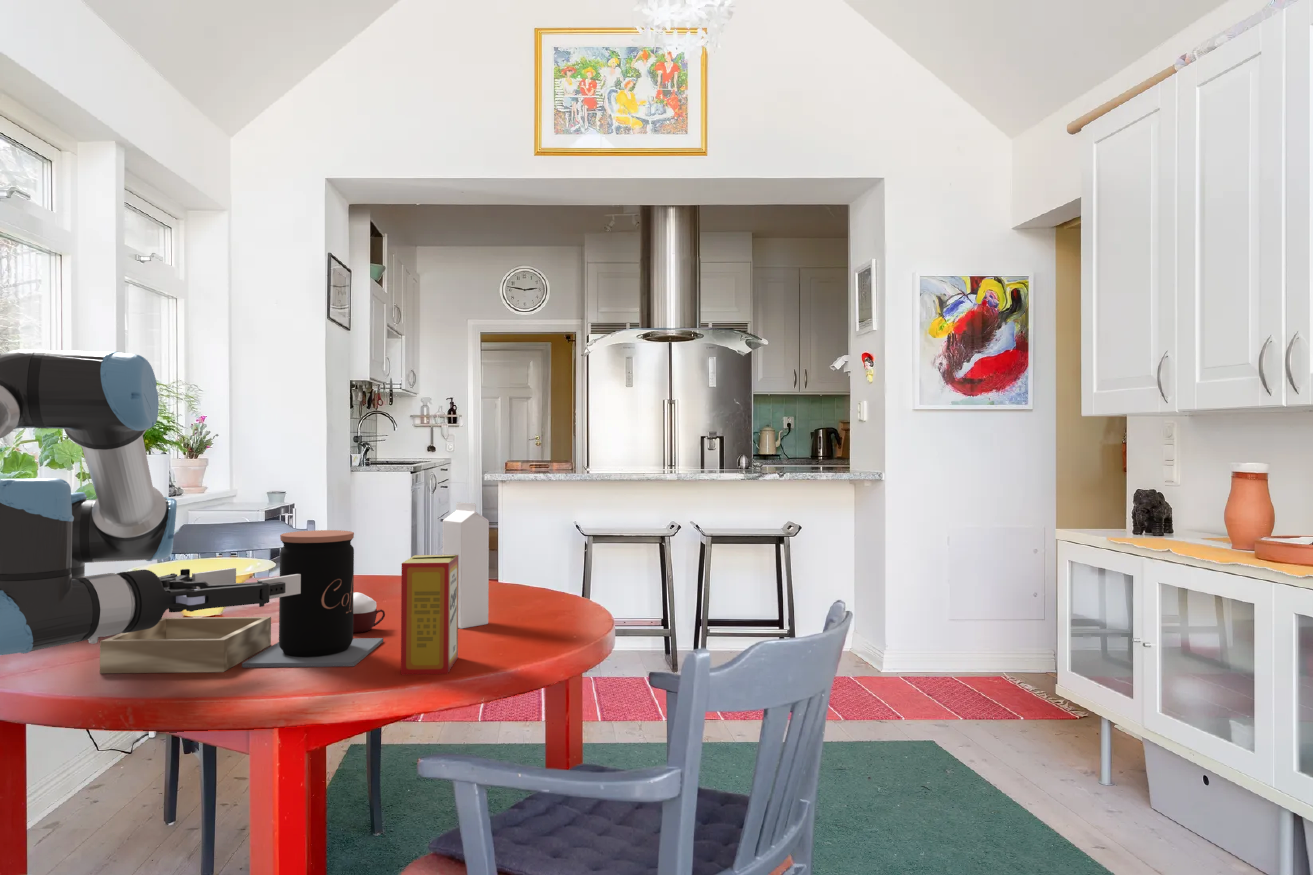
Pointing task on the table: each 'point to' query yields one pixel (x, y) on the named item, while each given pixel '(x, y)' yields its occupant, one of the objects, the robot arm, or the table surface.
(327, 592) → the coffee jar
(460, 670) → the table surface
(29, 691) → the table surface
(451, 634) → the baking soda box
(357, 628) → the cocoa
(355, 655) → the slate mat
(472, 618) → the milk
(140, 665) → the wooden tray
